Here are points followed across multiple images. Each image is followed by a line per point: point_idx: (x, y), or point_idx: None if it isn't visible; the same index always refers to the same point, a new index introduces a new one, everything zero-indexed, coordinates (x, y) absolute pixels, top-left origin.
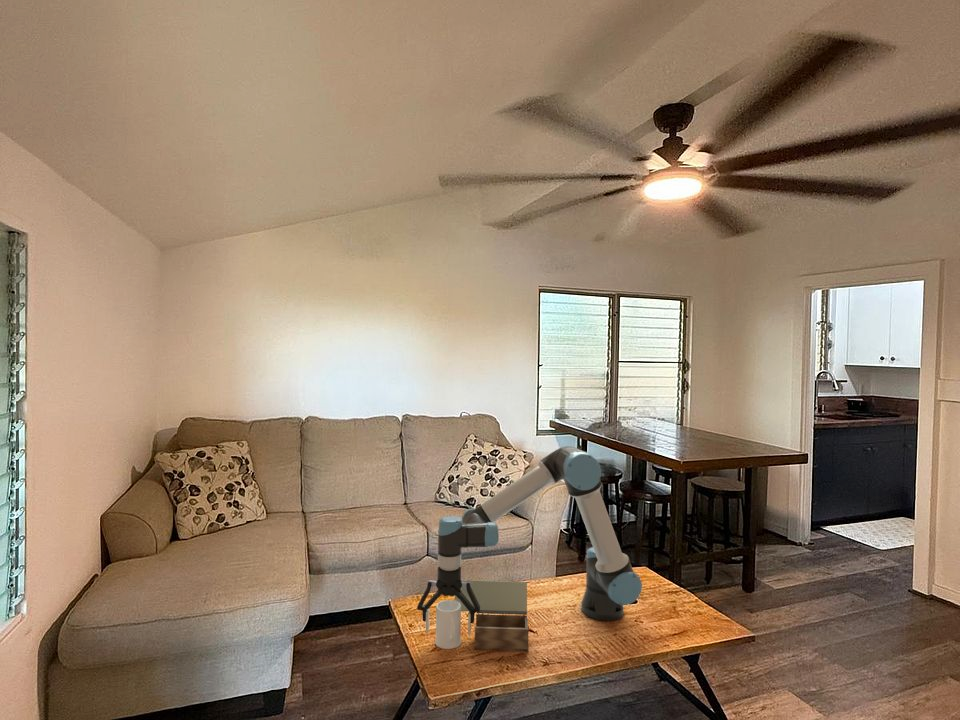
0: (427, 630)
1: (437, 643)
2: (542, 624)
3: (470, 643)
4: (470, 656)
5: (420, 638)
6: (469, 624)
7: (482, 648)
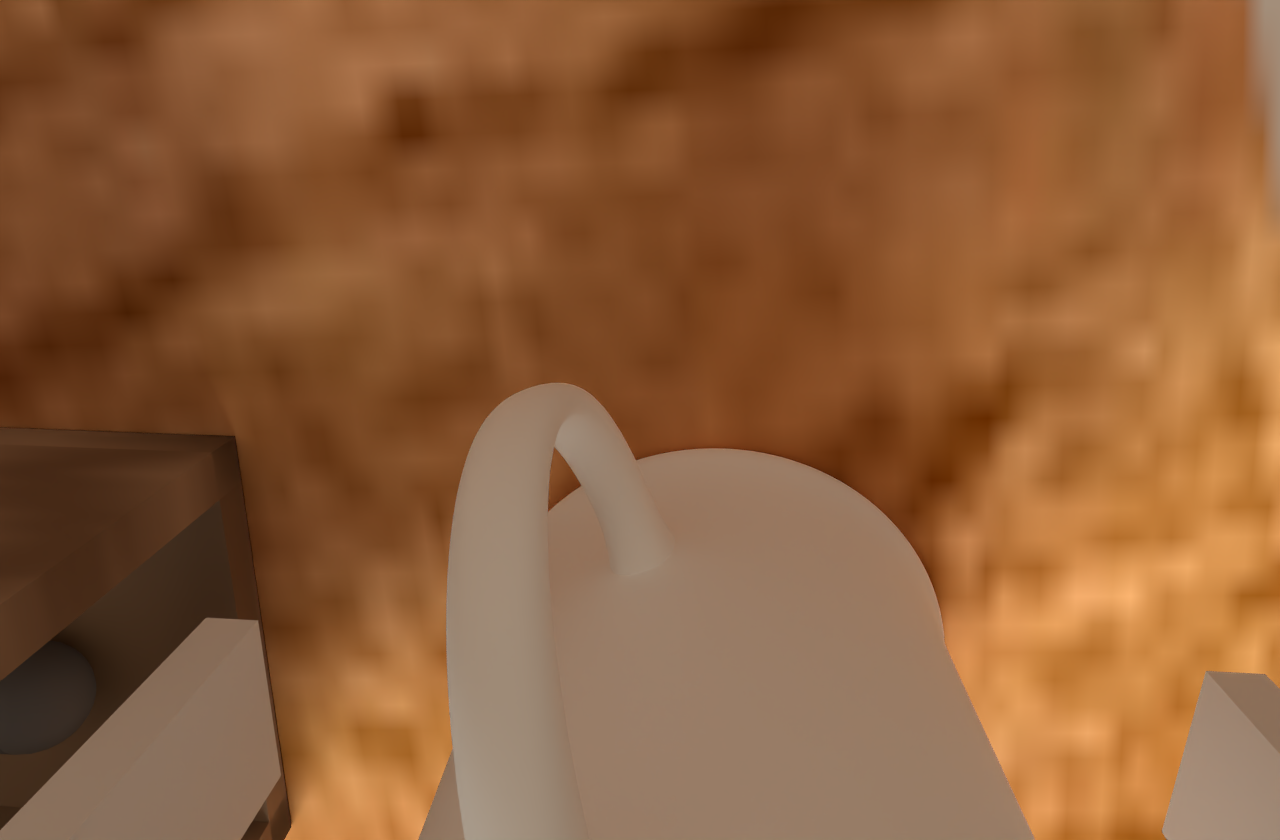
0: (1254, 714)
1: (908, 559)
2: None
3: (339, 617)
4: (270, 230)
5: None
6: (69, 790)
7: (83, 440)
